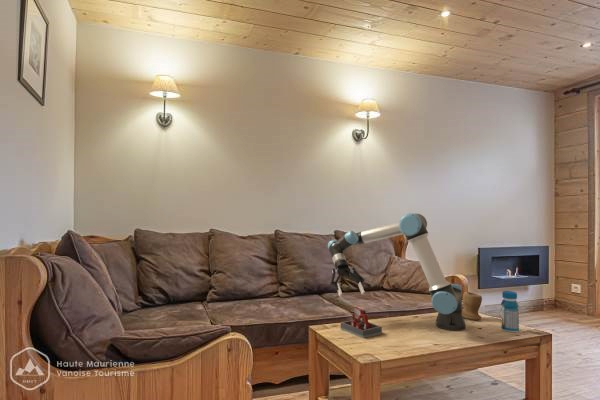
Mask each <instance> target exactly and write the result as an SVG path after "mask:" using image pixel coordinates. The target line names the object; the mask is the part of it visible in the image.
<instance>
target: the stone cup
mask: <svg viewBox="0 0 600 400" xmlns="http://www.w3.org/2000/svg"><path fill="white" fill-rule="evenodd" d="M482 301H483V297H482V295H481V294H479V293H474V292H470V291H464V292H463V293H462V307H463V308H462V315H463V318H464V319H468V320H475V321H478V320H481V319H483V317H482V316H481V315H480V314H479V309H480V307H481V305H482Z"/></svg>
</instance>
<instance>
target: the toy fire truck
mask: <svg viewBox="0 0 600 400" xmlns="http://www.w3.org/2000/svg"><path fill="white" fill-rule="evenodd" d="M351 320H352V321H351V326H354V327H356V328H359V329H365V330H366V329H370V328H371V327H370V323H371V322H370V323H369V319H368V315H367V311H366V310H364V309H362V308H359V306H355V307H354V308H353V319H351Z"/></svg>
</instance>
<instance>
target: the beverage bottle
mask: <svg viewBox="0 0 600 400" xmlns="http://www.w3.org/2000/svg"><path fill="white" fill-rule="evenodd" d="M502 298H503V299H502V300H501V303H500V305H501V307H500V313H501V324H500V325H501V326H500V327H501V330H502V331H504V330H505V331H504V332H507V331H508V333H518V332H520V326H519V325H520V321H519V315H520V310H519V307H520V305H519V303H518V301H517V299H518V294H517V291H511V290H503V291H502Z"/></svg>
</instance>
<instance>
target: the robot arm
mask: <svg viewBox="0 0 600 400" xmlns="http://www.w3.org/2000/svg"><path fill="white" fill-rule="evenodd" d="M427 227H428V221H427V219H426V217H425V216H423V215H422V214H421V213H413V212H410V213H406V214H404V215H403V216H402V217H401V218H400V220H399V221H396V222H393V223H388V224H384V225H381V226H378V227H374V228H370V229H367V230H363V231H358V232H355V231H354V230H349V231H347V232H346V233H345V234H344V235H343V236H342V237H340V238H339V239H335V238H334V239H332V240H330V241H328V243H327V248H328V252H329V254H330V257H331V259H332V263H333V265H334V268H332V270H331V277H330V278H331V280H330V286H333V287H334V288H335V291H337V294H338V296H339V297H341V296H342V295H343V292H342V289H341V287H340V284H339V281H340V279H341V278H350V279H351V280H353V281H354V282H356V283H357V286H358V288H359V292H360V293H361V295H364V294H365V290H364V289H365V288H364V287H365V285H364V282H365V279H364V278H363V277H362V276H361V274H360V273H359V272H357V270H356V269H355V267H352V268H350V267H349V264H348V261H347V258H346V256H345V253H344V252H345V251H347V250H348V249H349V248H351V247H355V246H356V247H357V246H361V245H364V244H368V243H373V242H375V241H380V240H385V239H390V238H393V237H398V236H401V235H403V236H405V239H406V241H407V242H408V243H411V245H412V247H413V250H414V252H415V254H416V257H417V260H418V262H419V264H420V267H421V269H422V271H423V273H424V275H425V278H426V280H427V282H428V285H429V288H428V292H429V294H430V295H429V296H430V297H431V305H432V307H433V310H435V311H436V312H438V313H437V316H436V319H435V327H438V328H440V329H443V330H447V331H464V330H466V327H467V326H466V321H465V318H464V317H463V315H462V310H463V289H462V285H461V284H455V283H451V282H450V281H447V279H446V277H445V275H444V273H443V270H442V268H441V266H440V264H439V262H438V260H437V257H436V255H435V253H434V252H435V251H433V248H432V246H431V244H430V241H429V239H428V236H429V232H428V230H427ZM336 274H337V277H336V279H335V276H336Z"/></svg>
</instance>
